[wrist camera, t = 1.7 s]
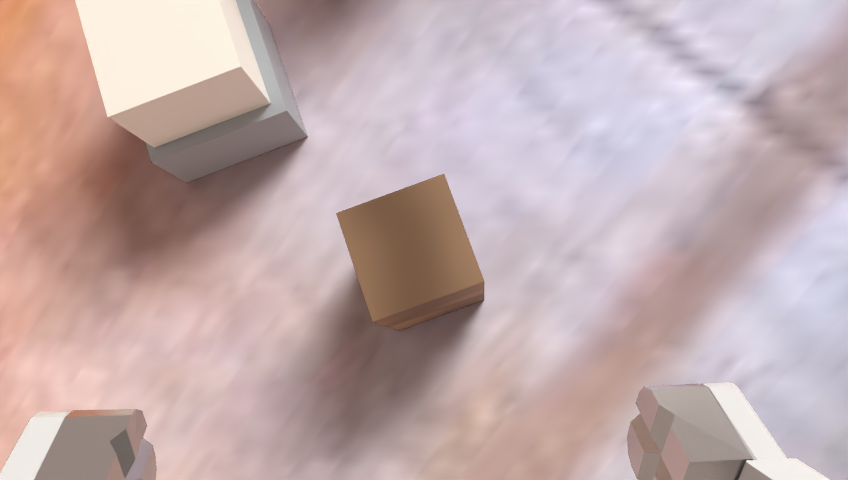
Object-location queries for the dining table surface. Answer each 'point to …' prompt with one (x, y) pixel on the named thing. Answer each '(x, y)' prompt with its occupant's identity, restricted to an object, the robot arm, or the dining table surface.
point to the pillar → (412, 255)
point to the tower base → (240, 116)
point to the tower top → (171, 64)
